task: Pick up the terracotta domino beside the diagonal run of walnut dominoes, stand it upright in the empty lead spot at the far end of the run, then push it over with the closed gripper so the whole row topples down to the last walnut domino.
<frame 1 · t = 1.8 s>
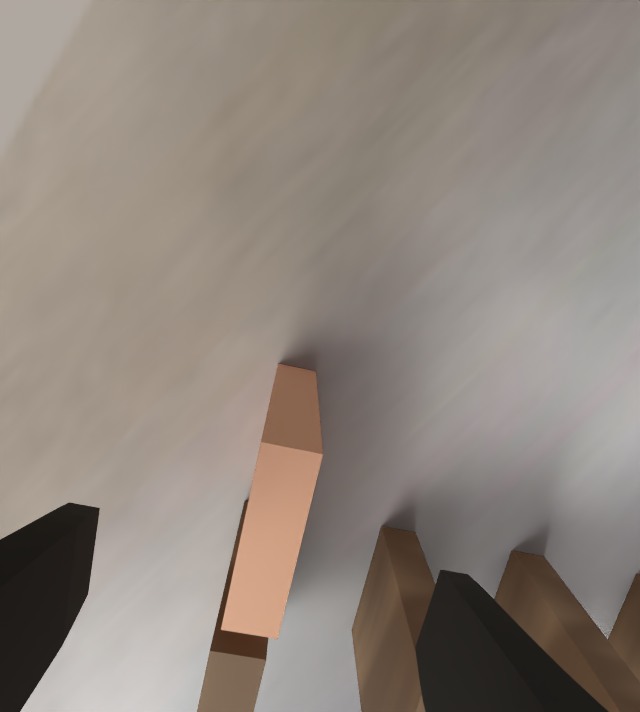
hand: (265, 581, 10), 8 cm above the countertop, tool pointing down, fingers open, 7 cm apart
tile 3: (382, 582, 20), on the countertop
end tile: (629, 626, 20), on the countertop
lead tile: (283, 430, 18), on the countertop
tile 2: (250, 559, 19), on the countertop
tile 4: (509, 604, 20), on the countertop
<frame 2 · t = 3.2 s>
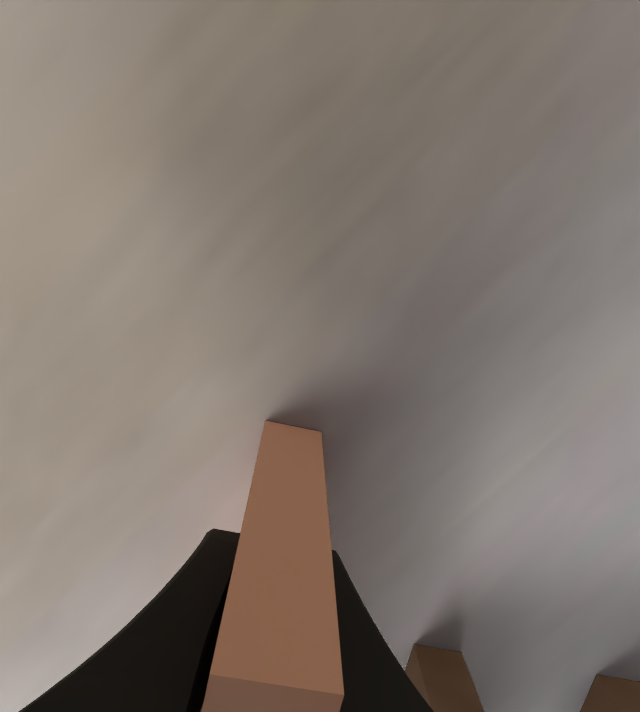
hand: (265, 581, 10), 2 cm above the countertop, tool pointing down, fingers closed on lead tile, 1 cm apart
lead tile: (273, 515, 12), on the countertop, touching gripper
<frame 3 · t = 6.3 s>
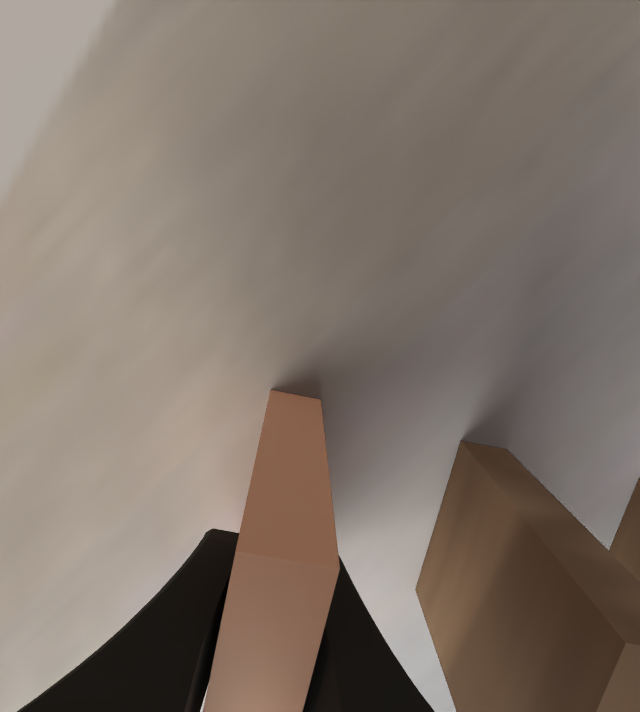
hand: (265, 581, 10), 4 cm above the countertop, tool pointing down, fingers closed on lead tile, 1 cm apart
tile 3: (630, 554, 15), on the countertop
lead tile: (278, 476, 14), on the countertop, touching gripper
tile 2: (459, 522, 14), on the countertop
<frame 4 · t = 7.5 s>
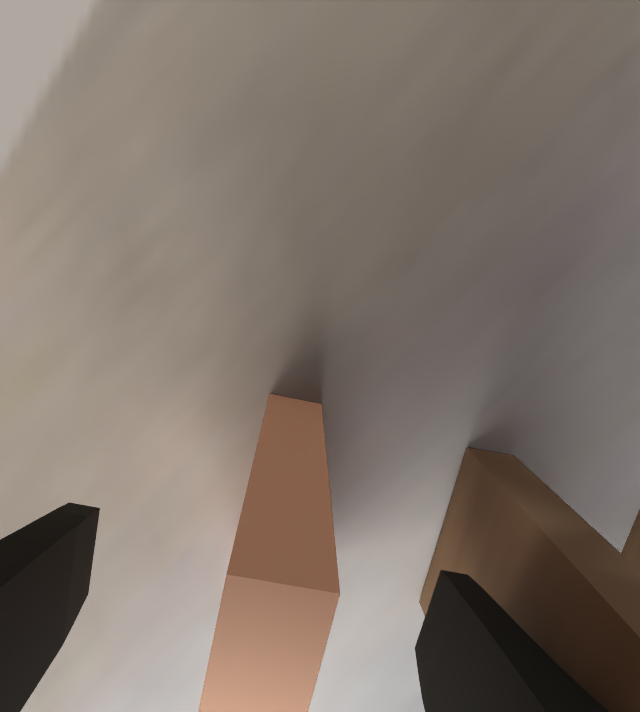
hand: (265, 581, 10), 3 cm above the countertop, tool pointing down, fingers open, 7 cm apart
lead tile: (276, 483, 13), on the countertop
tile 2: (465, 531, 14), on the countertop
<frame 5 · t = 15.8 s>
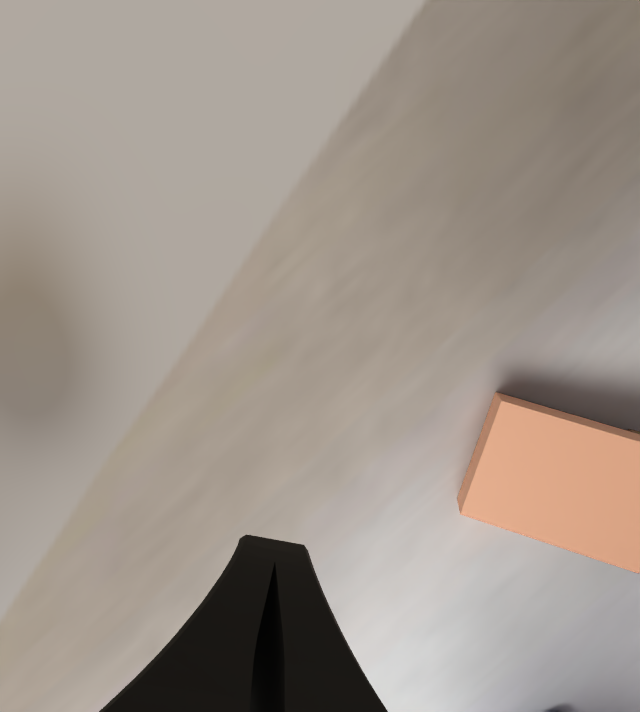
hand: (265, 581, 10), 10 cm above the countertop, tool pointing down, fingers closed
lead tile: (477, 452, 20), point 1 cm above the countertop, tilted 77°, touching tile 2
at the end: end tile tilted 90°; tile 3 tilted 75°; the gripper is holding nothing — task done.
